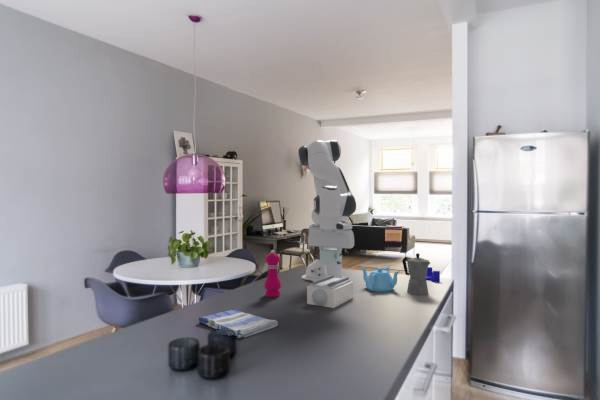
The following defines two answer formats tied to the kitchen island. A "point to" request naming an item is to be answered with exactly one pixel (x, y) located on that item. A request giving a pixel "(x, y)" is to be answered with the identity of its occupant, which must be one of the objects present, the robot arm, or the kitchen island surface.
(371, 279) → the teapot
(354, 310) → the kitchen island surface
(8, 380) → the kitchen island surface
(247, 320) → the dish towel
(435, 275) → the cable clip
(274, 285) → the pepper mill
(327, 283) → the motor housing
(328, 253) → the pale green block
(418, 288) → the coffeepot
